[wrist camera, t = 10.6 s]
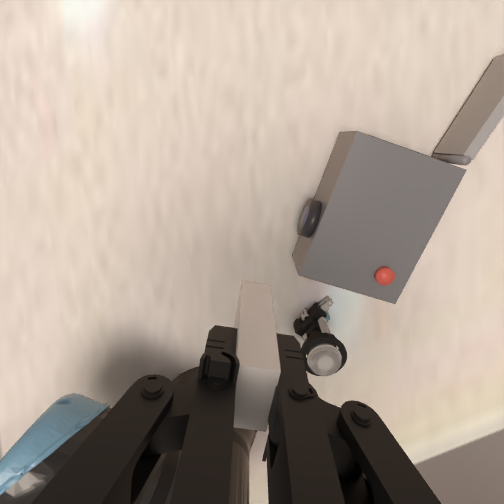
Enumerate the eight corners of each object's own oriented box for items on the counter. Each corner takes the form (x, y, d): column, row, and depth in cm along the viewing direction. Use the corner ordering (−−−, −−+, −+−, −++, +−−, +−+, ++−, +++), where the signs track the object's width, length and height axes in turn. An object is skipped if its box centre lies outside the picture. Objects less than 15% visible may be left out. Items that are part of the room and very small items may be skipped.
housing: (374, 280, 43) (398, 307, 36) (283, 252, 42) (289, 275, 35) (433, 163, 38) (472, 169, 31) (330, 127, 37) (348, 125, 30)
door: (429, 158, 38) (458, 162, 32) (495, 57, 34) (539, 42, 29) (441, 165, 38) (471, 169, 33) (507, 64, 34) (554, 51, 29)
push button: (315, 285, 44) (332, 326, 34) (343, 306, 45) (367, 352, 35) (283, 319, 45) (292, 366, 36) (311, 338, 47) (327, 389, 37)
